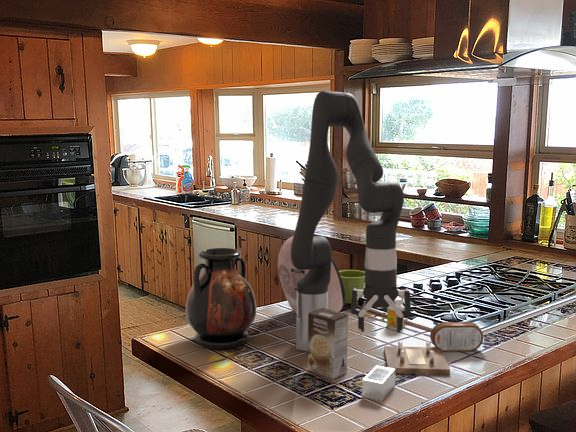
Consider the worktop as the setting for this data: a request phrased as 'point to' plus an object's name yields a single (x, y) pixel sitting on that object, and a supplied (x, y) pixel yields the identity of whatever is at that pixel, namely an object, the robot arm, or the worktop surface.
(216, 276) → the amphora vase
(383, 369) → the white rectangular box
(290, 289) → the pink rounded upright piece
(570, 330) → the worktop surface
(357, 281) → the plant pot
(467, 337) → the tin
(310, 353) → the coffee box
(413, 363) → the pin tray
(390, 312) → the supplement bottle
